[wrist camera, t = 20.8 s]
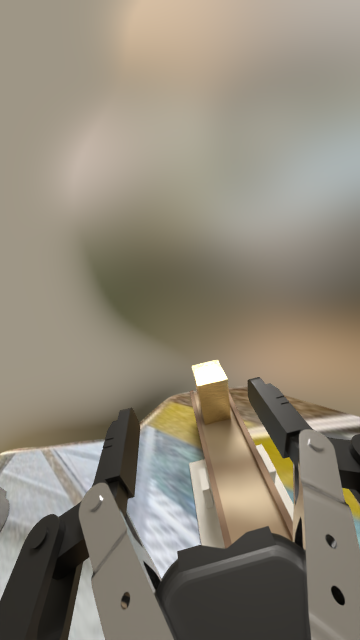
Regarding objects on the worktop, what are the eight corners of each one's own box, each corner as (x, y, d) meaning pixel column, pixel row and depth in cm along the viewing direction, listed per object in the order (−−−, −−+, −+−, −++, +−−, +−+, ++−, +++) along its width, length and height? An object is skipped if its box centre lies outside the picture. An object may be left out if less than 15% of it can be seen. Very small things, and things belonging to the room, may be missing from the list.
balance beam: (385, 732, 12) (400, 738, 10) (275, 769, 11) (277, 779, 10) (225, 391, 39) (224, 382, 38) (191, 399, 39) (189, 391, 37)
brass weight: (231, 418, 31) (227, 378, 27) (204, 425, 31) (197, 386, 27) (221, 397, 36) (217, 359, 32) (199, 402, 36) (191, 365, 32)
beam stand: (302, 527, 23) (310, 506, 20) (203, 555, 22) (196, 537, 19) (261, 447, 32) (262, 424, 29) (190, 466, 31) (183, 444, 28)
